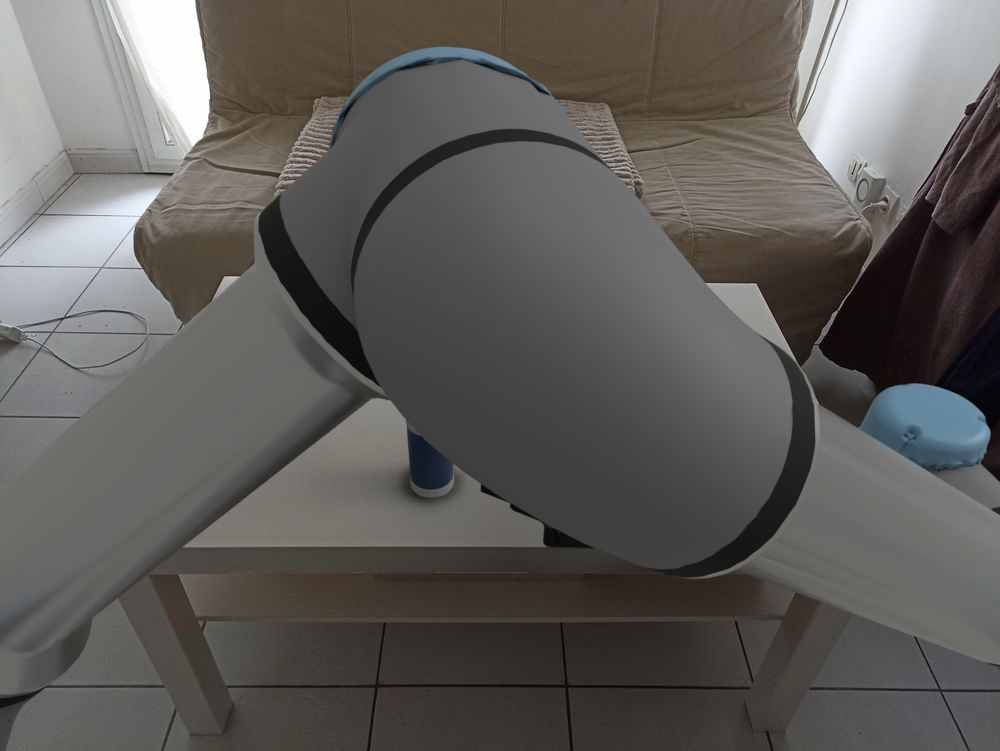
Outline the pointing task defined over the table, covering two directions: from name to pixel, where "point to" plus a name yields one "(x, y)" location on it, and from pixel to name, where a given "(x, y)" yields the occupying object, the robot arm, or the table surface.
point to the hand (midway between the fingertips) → (516, 432)
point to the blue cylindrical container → (428, 467)
